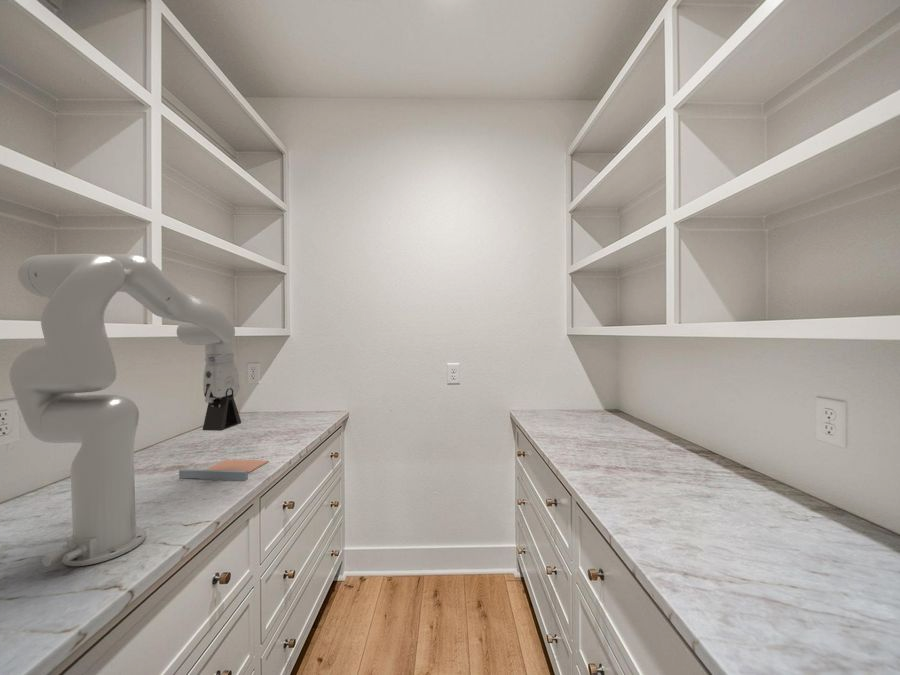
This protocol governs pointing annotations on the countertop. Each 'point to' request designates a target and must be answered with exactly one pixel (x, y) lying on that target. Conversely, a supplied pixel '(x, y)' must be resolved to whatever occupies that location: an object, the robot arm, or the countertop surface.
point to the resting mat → (238, 465)
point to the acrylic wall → (214, 474)
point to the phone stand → (222, 415)
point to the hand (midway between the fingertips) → (222, 418)
